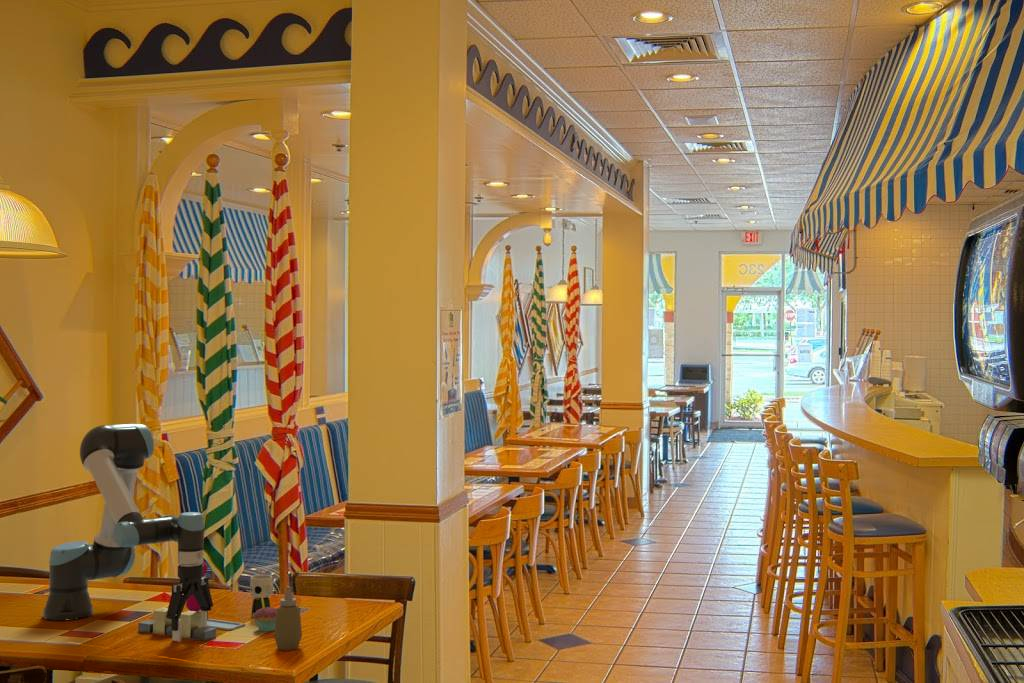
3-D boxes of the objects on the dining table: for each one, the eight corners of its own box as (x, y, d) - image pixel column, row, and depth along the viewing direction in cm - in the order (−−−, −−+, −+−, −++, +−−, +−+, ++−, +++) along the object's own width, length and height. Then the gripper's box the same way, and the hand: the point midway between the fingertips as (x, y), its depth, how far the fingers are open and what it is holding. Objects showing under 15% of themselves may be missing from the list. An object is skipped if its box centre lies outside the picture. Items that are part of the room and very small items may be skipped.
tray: (184, 625, 337) (184, 622, 337) (199, 620, 343) (199, 617, 343) (230, 631, 330) (230, 628, 330) (244, 626, 336) (244, 623, 336)
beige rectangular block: (178, 636, 322) (179, 613, 322) (188, 633, 326) (189, 610, 326) (190, 638, 320) (190, 615, 320) (200, 635, 324) (200, 612, 324)
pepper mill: (202, 620, 344) (202, 558, 344) (181, 618, 345) (182, 557, 346) (212, 615, 351) (213, 554, 351) (192, 613, 352) (193, 553, 353)
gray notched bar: (138, 632, 328) (138, 622, 328) (149, 628, 333) (149, 619, 333) (204, 642, 317) (205, 632, 317) (216, 638, 322) (216, 628, 322)
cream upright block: (153, 633, 326) (153, 610, 326) (163, 629, 330) (163, 607, 330) (164, 634, 324) (164, 611, 324) (174, 631, 328) (175, 608, 328)
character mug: (241, 615, 350) (242, 576, 351) (258, 611, 356) (259, 572, 356) (263, 620, 344) (264, 580, 344) (280, 616, 350) (281, 577, 350)
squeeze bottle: (275, 644, 316) (276, 584, 316) (303, 644, 316) (304, 583, 316) (271, 652, 307) (272, 589, 308) (300, 651, 308) (300, 589, 308)
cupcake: (256, 635, 326) (257, 596, 326) (250, 628, 334) (250, 590, 334) (284, 632, 330) (284, 593, 330) (277, 625, 338) (277, 588, 338)
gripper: (173, 571, 311) (172, 647, 311) (225, 558, 332) (224, 629, 332) (153, 569, 314) (152, 644, 314) (206, 556, 335) (205, 626, 335)
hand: (189, 636), depth 323 cm, fingers open, 11 cm apart
